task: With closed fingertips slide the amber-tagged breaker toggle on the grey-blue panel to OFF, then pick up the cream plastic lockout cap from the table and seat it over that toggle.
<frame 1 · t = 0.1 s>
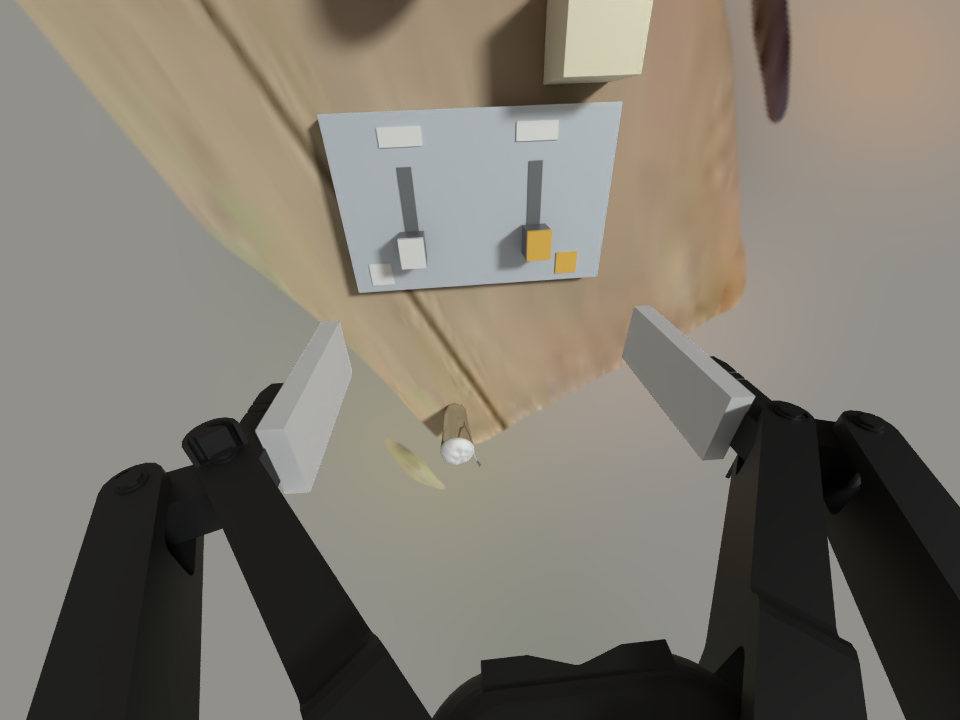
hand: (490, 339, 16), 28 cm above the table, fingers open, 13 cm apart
lockout cap: (580, 36, 33), on the table
breaker 2: (536, 242, 38), point 4 cm above the table, slide at 0.0 cm
breaker 1: (413, 249, 38), point 4 cm above the table, slide at 0.0 cm
panel: (475, 203, 39), on the table
milkshake: (457, 410, 56), on the table
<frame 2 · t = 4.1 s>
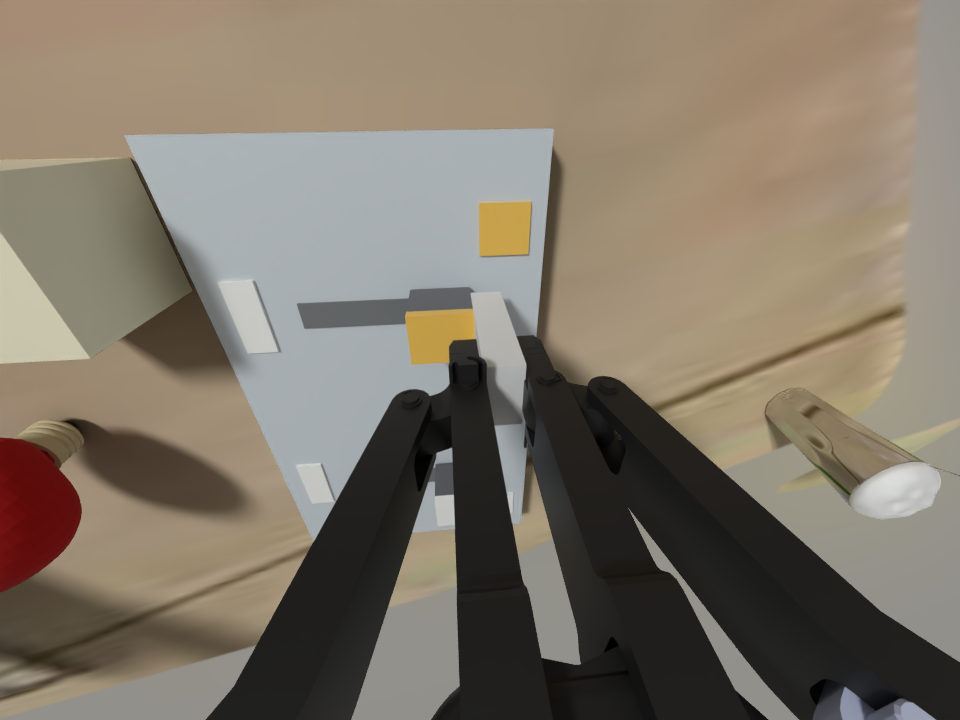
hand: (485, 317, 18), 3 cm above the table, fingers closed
lockout cap: (90, 232, 18), on the table
breaker 2: (441, 324, 18), point 4 cm above the table, slide at 0.3 cm, touching gripper
breaker 1: (458, 492, 25), point 4 cm above the table, slide at 0.0 cm
light bulb: (72, 424, 24), on the table
panel: (398, 381, 24), on the table
milkshake: (787, 398, 28), on the table
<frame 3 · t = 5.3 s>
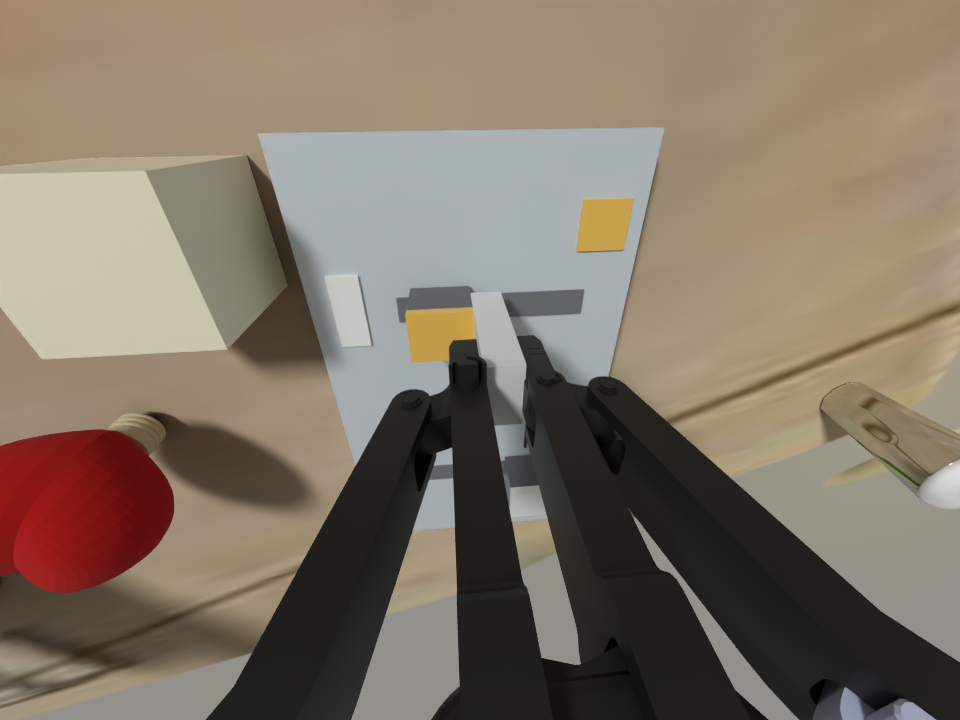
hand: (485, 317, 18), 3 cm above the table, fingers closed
lockout cap: (198, 228, 18), on the table
breaker 2: (441, 322, 18), point 4 cm above the table, slide at 5.2 cm, touching gripper
breaker 1: (528, 484, 25), point 4 cm above the table, slide at 0.0 cm
light bulb: (153, 417, 24), on the table
panel: (472, 375, 24), on the table
milkshake: (843, 392, 29), on the table
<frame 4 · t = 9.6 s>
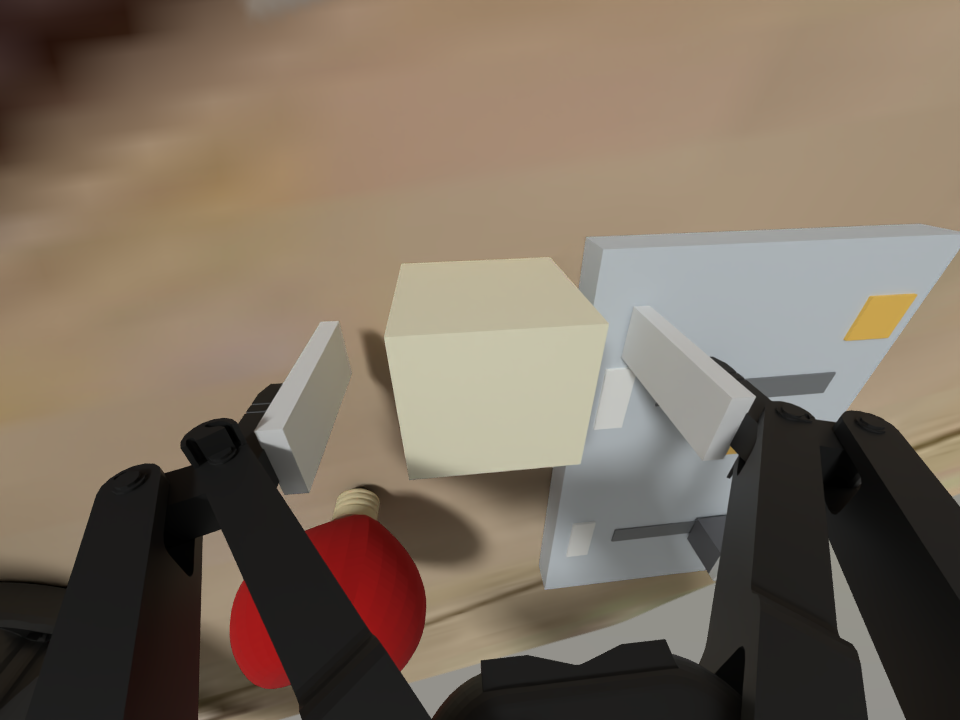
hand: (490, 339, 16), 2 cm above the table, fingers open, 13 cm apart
lockout cap: (477, 322, 18), on the table
breaker 2: (719, 413, 18), point 4 cm above the table, slide at 5.2 cm
breaker 1: (725, 546, 26), point 4 cm above the table, slide at 0.0 cm
light bulb: (361, 488, 24), on the table
panel: (676, 441, 25), on the table
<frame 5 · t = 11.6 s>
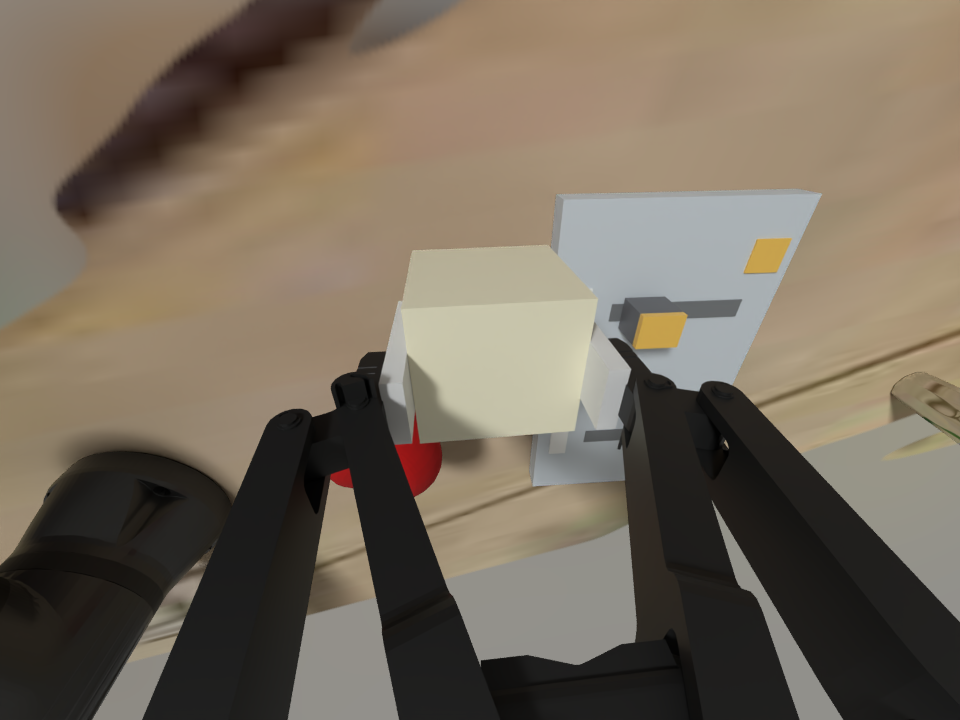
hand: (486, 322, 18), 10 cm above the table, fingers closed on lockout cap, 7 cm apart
lockout cap: (481, 305, 20), point 8 cm above the table, touching gripper
breaker 2: (650, 322, 26), point 4 cm above the table, slide at 5.2 cm
light bulb: (394, 389, 33), on the table
panel: (633, 361, 32), on the table
milkshake: (910, 380, 36), on the table
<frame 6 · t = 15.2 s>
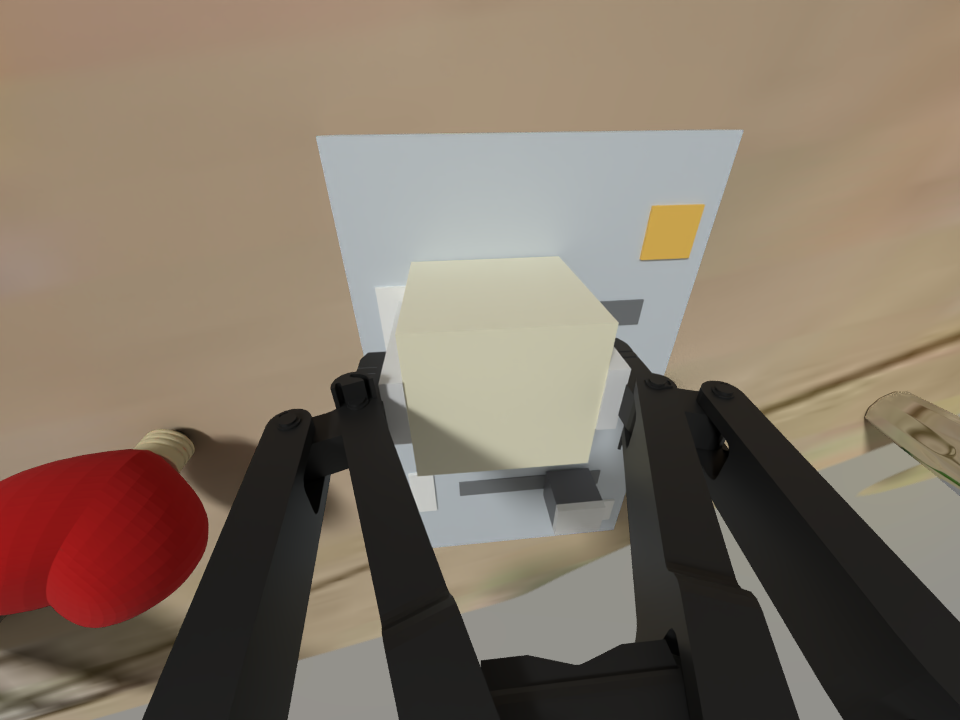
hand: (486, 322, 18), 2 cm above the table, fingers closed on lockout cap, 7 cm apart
lockout cap: (486, 320, 18), point 2 cm above the table, touching gripper, panel
breaker 1: (572, 500, 24), point 4 cm above the table, slide at 0.0 cm
light bulb: (180, 433, 23), on the table
panel: (515, 387, 23), on the table
milkshake: (889, 401, 28), on the table
when the fingers open (2 cm above the table, at t = 15.6 s): lockout cap stays where it is, resting on panel.
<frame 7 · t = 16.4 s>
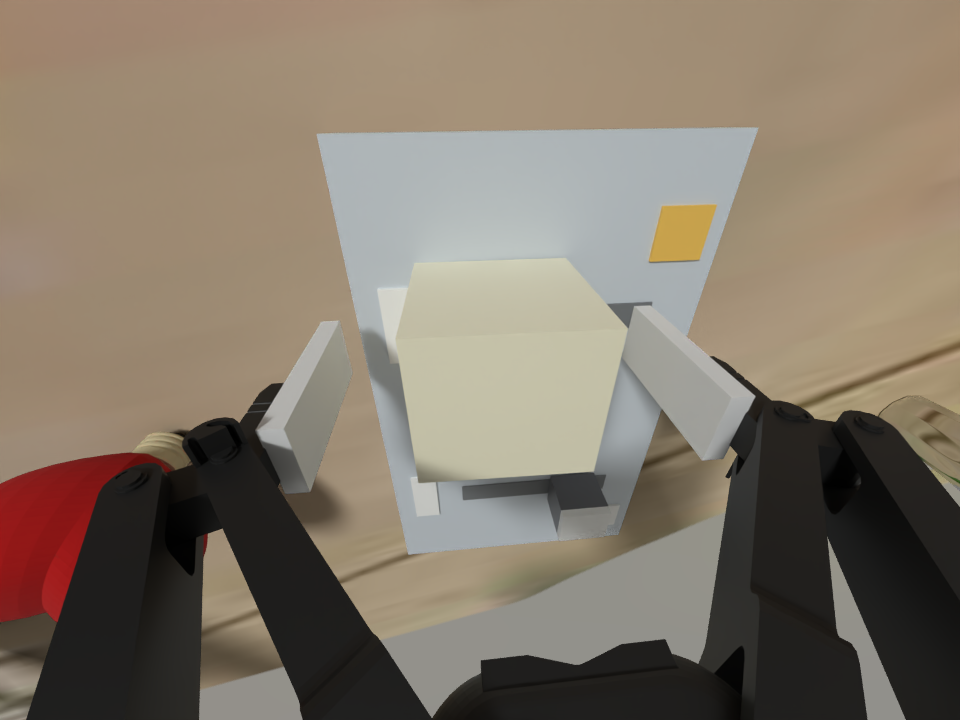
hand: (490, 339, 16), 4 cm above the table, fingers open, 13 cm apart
lockout cap: (490, 323, 18), point 2 cm above the table, touching panel
breaker 1: (576, 505, 24), point 4 cm above the table, slide at 0.0 cm
light bulb: (180, 435, 23), on the table
panel: (519, 390, 23), on the table
milkshake: (901, 405, 27), on the table
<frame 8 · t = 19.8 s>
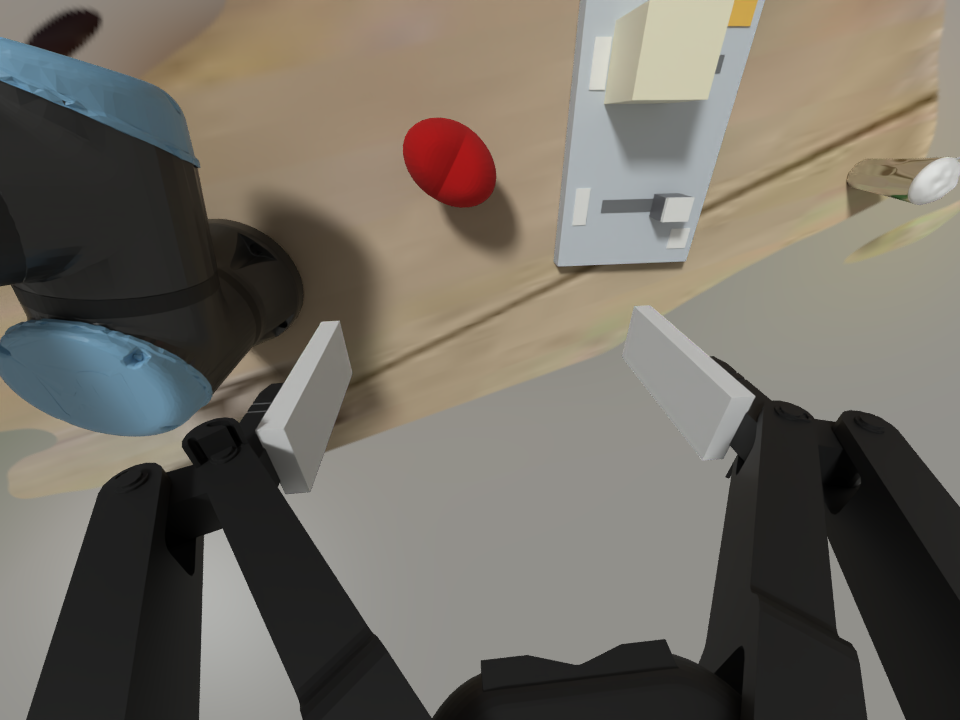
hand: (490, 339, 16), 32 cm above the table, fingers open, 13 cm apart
lockout cap: (643, 64, 35), point 2 cm above the table, touching panel
breaker 1: (670, 207, 41), point 4 cm above the table, slide at 0.0 cm
light bulb: (449, 159, 40), on the table
panel: (640, 135, 41), on the table
milkshake: (861, 169, 45), on the table
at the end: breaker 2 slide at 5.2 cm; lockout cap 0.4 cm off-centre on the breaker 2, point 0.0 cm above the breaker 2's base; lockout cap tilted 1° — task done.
